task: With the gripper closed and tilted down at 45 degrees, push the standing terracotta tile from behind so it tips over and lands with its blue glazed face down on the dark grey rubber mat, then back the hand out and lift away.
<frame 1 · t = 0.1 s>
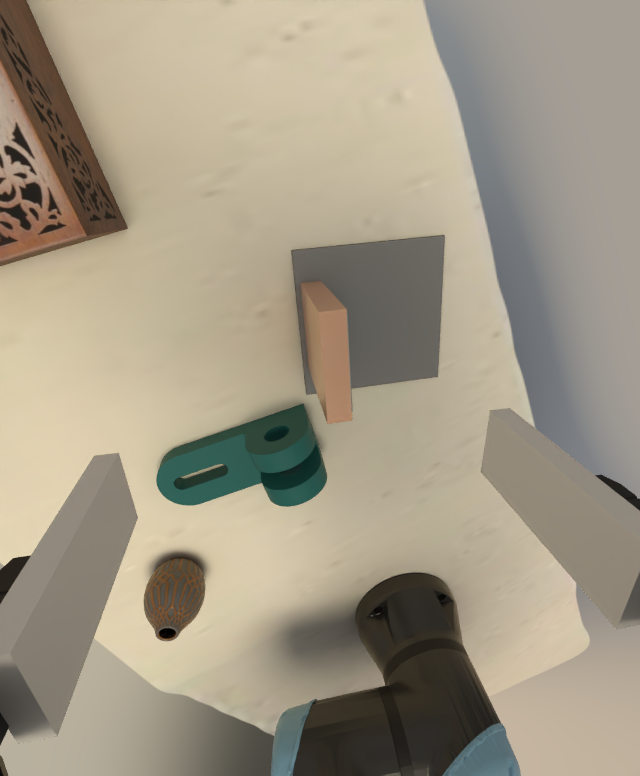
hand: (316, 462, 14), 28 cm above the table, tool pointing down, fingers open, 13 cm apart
bracket: (238, 451, 47), on the table
mat: (370, 318, 42), on the table
tile: (314, 326, 41), resting on mat
vase: (180, 567, 52), on the table
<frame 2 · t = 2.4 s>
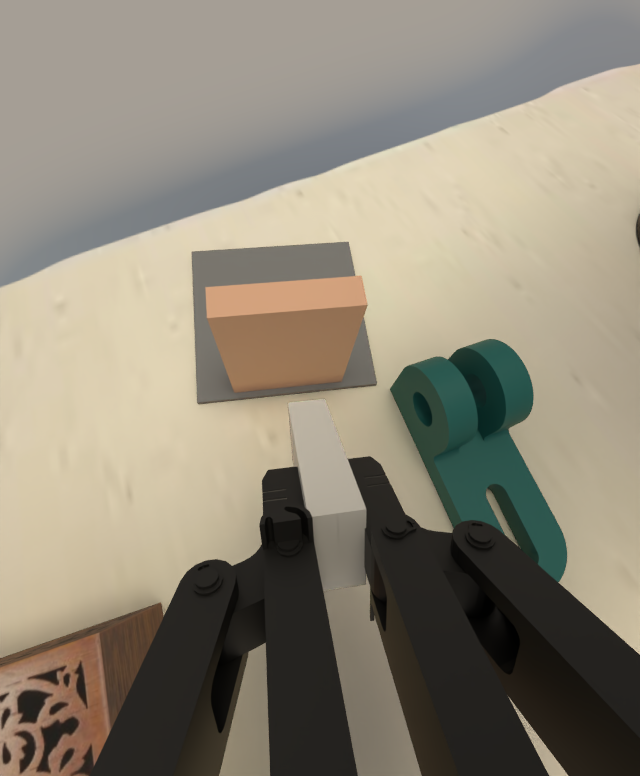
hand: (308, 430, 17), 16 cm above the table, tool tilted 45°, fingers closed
bracket: (470, 475, 33), on the table
mat: (280, 316, 36), on the table
tile: (287, 376, 34), resting on mat
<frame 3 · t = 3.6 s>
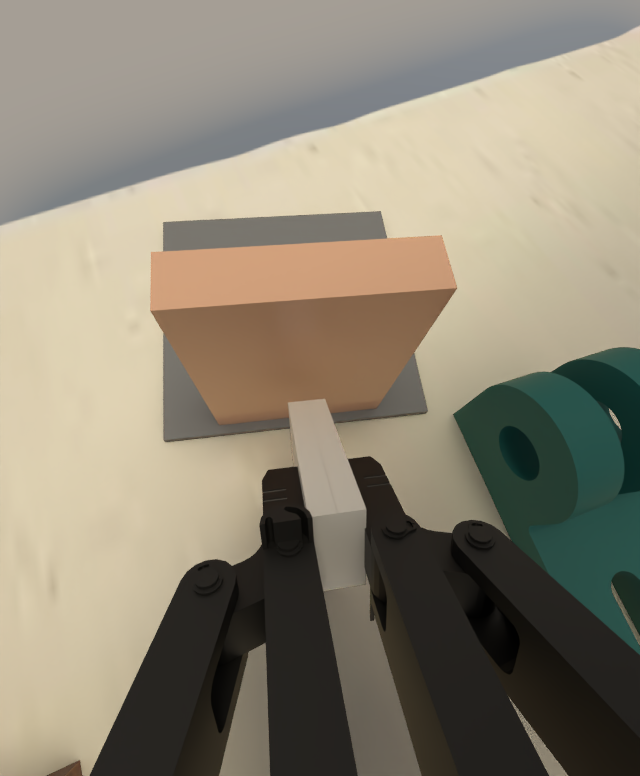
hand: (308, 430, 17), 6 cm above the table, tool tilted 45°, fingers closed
bracket: (573, 547, 22), on the table
mat: (286, 313, 26), on the table
tile: (297, 400, 23), resting on mat
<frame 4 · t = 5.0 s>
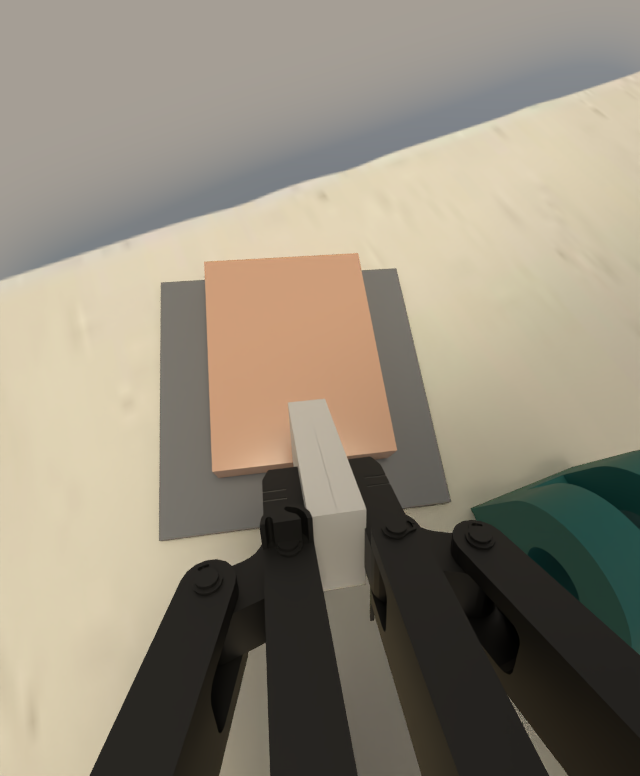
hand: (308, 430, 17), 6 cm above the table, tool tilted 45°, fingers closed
bracket: (608, 662, 20), on the table
mat: (295, 386, 24), on the table
tile: (306, 464, 20), point 2 cm above the table, tilted 90°, touching mat
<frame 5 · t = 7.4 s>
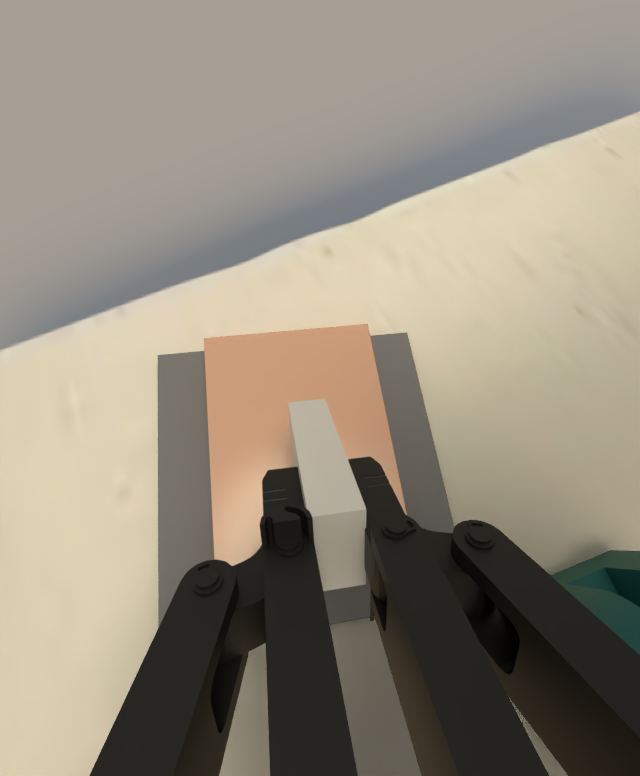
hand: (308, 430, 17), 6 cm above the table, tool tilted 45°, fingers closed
mat: (302, 469, 22), on the table
tile: (316, 566, 19), point 2 cm above the table, tilted 90°, touching mat
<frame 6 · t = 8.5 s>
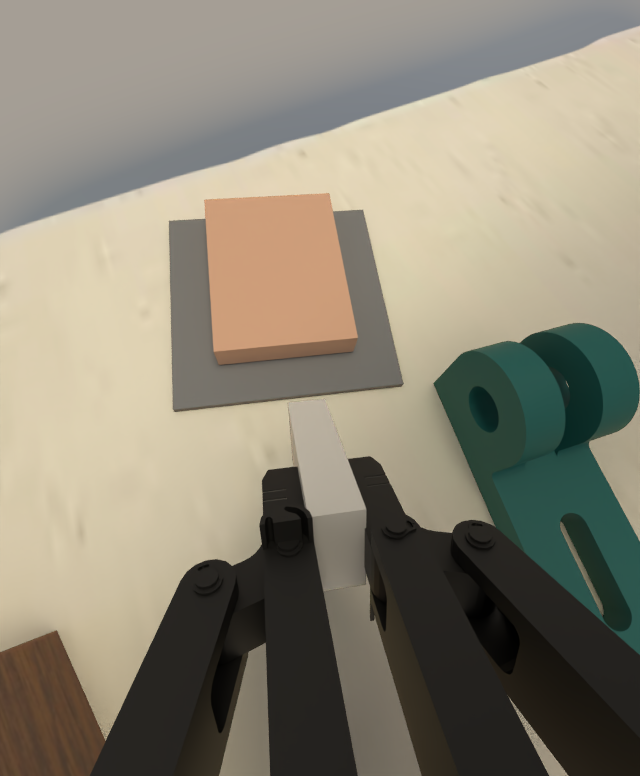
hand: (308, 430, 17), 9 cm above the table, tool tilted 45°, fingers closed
bracket: (533, 498, 26), on the table
mat: (279, 300, 29), on the table
tile: (287, 351, 26), point 2 cm above the table, tilted 90°, touching mat
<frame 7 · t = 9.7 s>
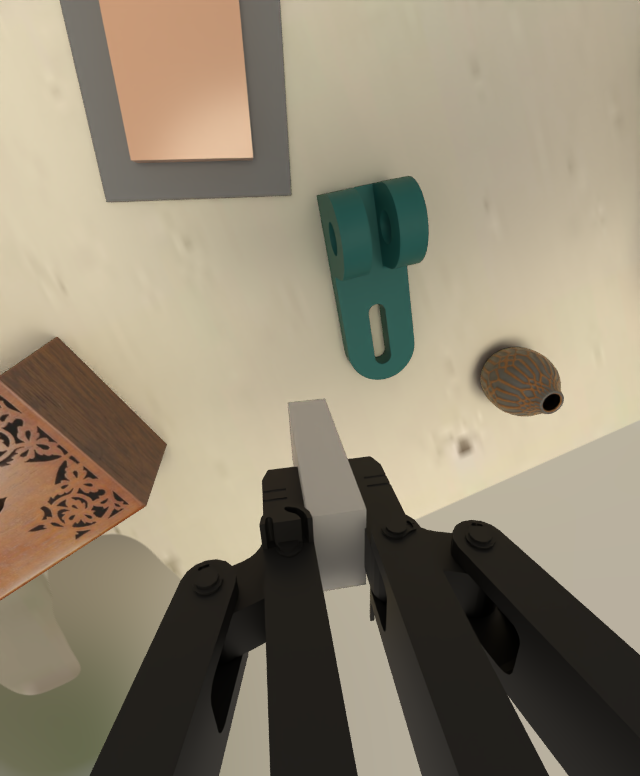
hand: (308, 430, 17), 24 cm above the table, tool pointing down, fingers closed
bracket: (367, 287, 40), on the table
tissue box cover: (18, 461, 41), on the table
mat: (186, 90, 31), on the table
tile: (194, 160, 31), point 2 cm above the table, tilted 90°, touching mat
vase: (498, 368, 46), on the table
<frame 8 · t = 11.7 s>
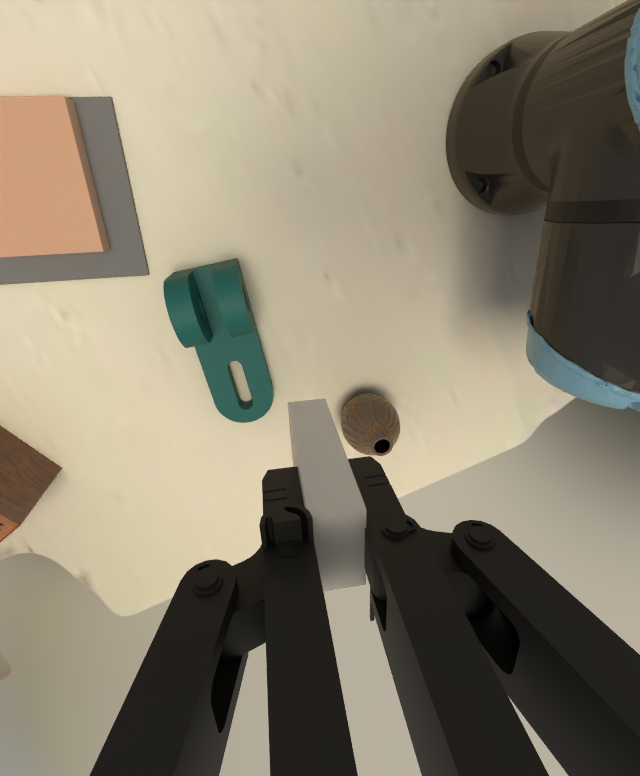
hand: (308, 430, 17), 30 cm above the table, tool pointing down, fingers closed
bracket: (230, 344, 46), on the table
mat: (47, 196, 37), on the table
tile: (56, 253, 38), point 2 cm above the table, tilted 90°, touching mat
vase: (362, 409, 52), on the table
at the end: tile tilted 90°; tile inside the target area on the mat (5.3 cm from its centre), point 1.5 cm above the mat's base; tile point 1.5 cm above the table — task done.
